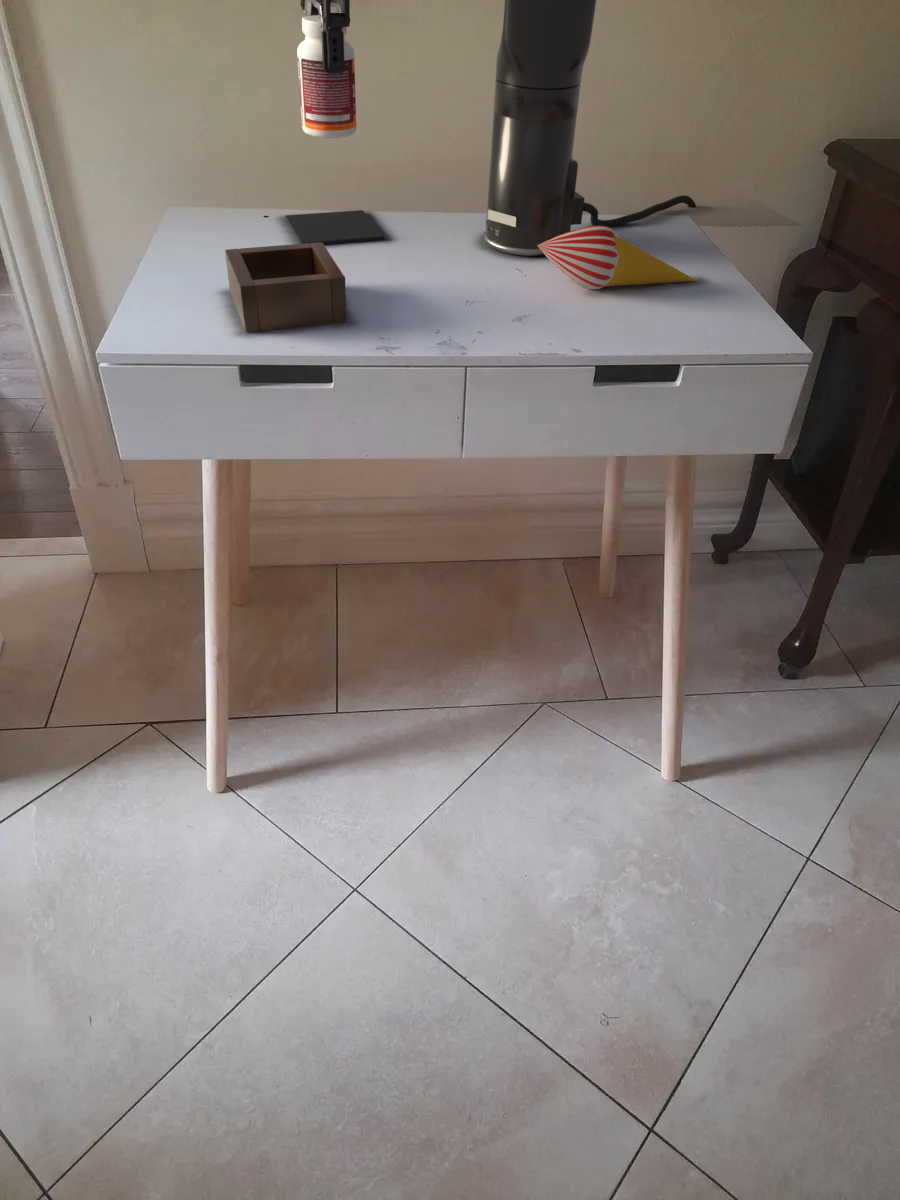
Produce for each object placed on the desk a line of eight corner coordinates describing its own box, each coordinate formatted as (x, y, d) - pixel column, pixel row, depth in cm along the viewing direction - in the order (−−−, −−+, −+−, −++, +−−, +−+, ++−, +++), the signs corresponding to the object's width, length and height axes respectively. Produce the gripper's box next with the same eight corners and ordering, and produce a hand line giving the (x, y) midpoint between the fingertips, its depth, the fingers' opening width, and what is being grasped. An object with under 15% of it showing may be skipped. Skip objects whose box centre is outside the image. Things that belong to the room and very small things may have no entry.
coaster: (363, 213, 113) (362, 209, 113) (384, 239, 106) (384, 236, 106) (285, 218, 111) (284, 215, 110) (301, 246, 103) (301, 242, 103)
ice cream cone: (684, 321, 102) (526, 290, 95) (677, 274, 104) (522, 240, 97) (717, 289, 96) (552, 253, 89) (710, 240, 98) (548, 201, 91)
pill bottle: (366, 136, 101) (364, 21, 93) (317, 142, 98) (311, 24, 91) (340, 123, 105) (336, 12, 97) (292, 129, 102) (285, 15, 95)
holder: (324, 284, 95) (322, 241, 92) (347, 322, 88) (345, 277, 85) (230, 293, 92) (224, 249, 89) (245, 332, 85) (240, 286, 82)
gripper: (374, -128, 82) (377, 79, 93) (338, -134, 92) (344, 53, 103) (294, -131, 80) (306, 81, 91) (266, -137, 90) (280, 54, 101)
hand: (326, 65), depth 97 cm, fingers closed on pill bottle, 6 cm apart
